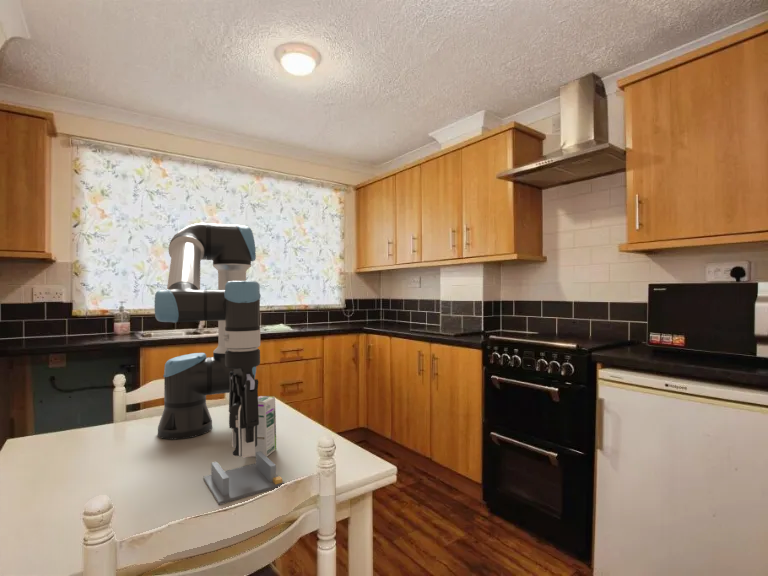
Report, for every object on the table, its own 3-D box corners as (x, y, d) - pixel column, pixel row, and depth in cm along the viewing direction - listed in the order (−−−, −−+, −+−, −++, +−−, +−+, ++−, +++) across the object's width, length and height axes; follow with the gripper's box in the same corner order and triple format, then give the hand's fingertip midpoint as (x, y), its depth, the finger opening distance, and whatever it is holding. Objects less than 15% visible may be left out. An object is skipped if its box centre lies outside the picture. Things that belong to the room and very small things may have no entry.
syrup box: (266, 458, 106) (266, 402, 106) (245, 456, 108) (245, 400, 108) (276, 449, 112) (276, 396, 112) (256, 448, 113) (256, 395, 113)
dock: (203, 479, 95) (203, 461, 95) (263, 463, 103) (263, 447, 103) (219, 504, 83) (218, 484, 83) (284, 485, 92) (284, 466, 92)
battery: (243, 445, 97) (242, 396, 97) (258, 446, 97) (257, 397, 97) (227, 457, 90) (226, 404, 90) (243, 458, 90) (242, 405, 90)
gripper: (214, 345, 99) (214, 441, 99) (238, 355, 83) (239, 470, 83) (246, 343, 103) (246, 435, 103) (274, 352, 88) (275, 461, 87)
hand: (243, 450), depth 93 cm, fingers closed on battery, 7 cm apart
